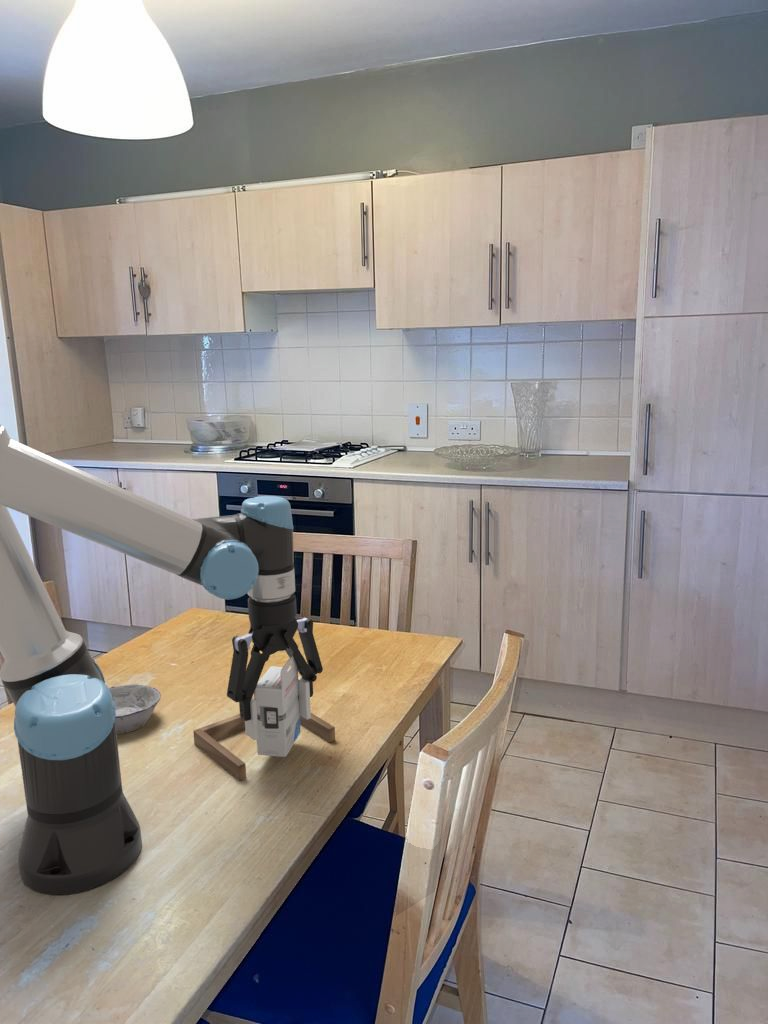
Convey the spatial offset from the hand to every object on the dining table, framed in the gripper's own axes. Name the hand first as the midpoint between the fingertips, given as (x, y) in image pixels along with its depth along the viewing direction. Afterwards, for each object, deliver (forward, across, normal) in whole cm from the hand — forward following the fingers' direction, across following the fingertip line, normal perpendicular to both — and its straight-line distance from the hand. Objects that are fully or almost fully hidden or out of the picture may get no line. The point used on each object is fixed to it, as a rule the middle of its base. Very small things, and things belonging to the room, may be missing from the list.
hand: (278, 726), depth 127 cm
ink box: (+3, 0, 0) cm, 3 cm away
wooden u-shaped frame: (+5, 0, +4) cm, 7 cm away
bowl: (+5, -15, +29) cm, 33 cm away
